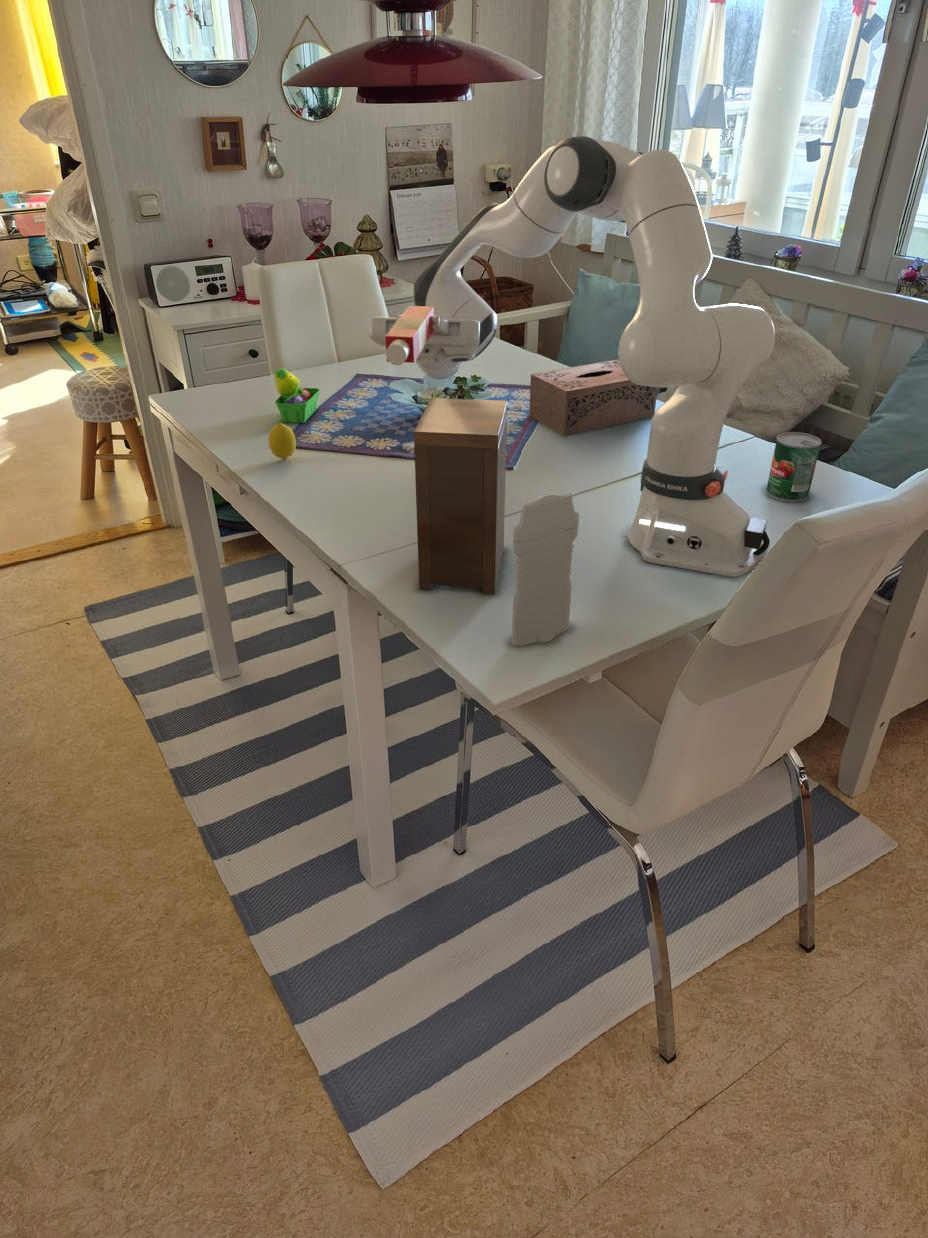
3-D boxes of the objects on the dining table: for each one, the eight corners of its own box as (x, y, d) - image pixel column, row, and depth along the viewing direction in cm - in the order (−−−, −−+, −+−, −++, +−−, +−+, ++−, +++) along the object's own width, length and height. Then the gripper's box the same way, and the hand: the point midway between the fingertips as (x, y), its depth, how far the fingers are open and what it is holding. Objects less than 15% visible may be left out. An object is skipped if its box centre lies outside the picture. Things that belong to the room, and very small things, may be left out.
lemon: (292, 465, 178) (287, 428, 173) (267, 463, 179) (262, 426, 174) (301, 455, 182) (297, 419, 178) (277, 454, 183) (272, 417, 179)
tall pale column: (562, 618, 128) (571, 481, 116) (578, 631, 125) (590, 492, 113) (502, 638, 123) (505, 498, 112) (517, 652, 120) (523, 509, 109)
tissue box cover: (616, 399, 213) (620, 358, 208) (654, 416, 203) (659, 374, 197) (529, 416, 203) (530, 373, 197) (563, 435, 192) (566, 391, 187)
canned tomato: (757, 492, 166) (768, 438, 160) (780, 481, 170) (791, 428, 164) (794, 505, 161) (806, 450, 155) (816, 494, 165) (829, 440, 159)
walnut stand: (434, 545, 148) (430, 397, 134) (503, 549, 146) (507, 400, 132) (419, 589, 135) (413, 431, 121) (494, 594, 134) (498, 435, 120)
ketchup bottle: (410, 368, 133) (409, 342, 131) (382, 367, 133) (381, 341, 131) (434, 329, 152) (433, 306, 150) (409, 329, 153) (408, 305, 150)
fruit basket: (308, 425, 198) (303, 376, 192) (271, 423, 199) (265, 374, 193) (322, 409, 207) (318, 362, 201) (287, 407, 209) (282, 360, 202)
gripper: (377, 322, 163) (360, 299, 149) (484, 326, 161) (477, 303, 147) (375, 356, 163) (358, 336, 150) (482, 360, 161) (474, 340, 147)
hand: (418, 319), depth 148 cm, fingers closed on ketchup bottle, 4 cm apart
